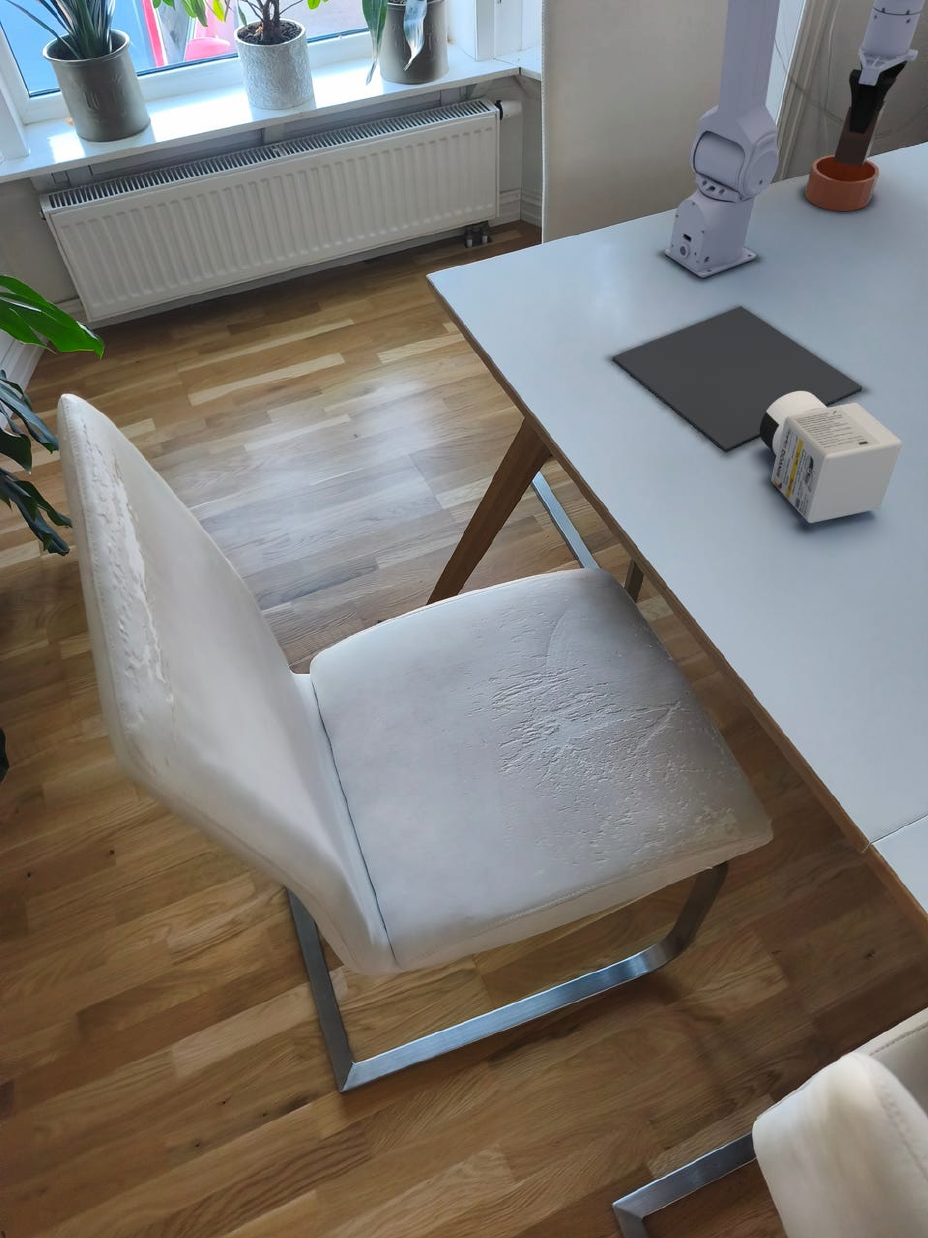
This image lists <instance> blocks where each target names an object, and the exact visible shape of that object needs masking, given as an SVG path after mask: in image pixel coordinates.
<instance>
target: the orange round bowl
mask: <svg viewBox="0 0 928 1238" xmlns="http://www.w3.org/2000/svg"><path fill="white" fill-rule="evenodd" d="M834 156H835V154H830V155H824V156H822V157H819V158H816V160H815V161H814V162H812V164H811V168H810V172H809V176H808V179H807V182H806V186H805V191H804V195H805V198H806V200H807V201H808V202H809V203H811V204H813V205H814V206H817V207H819V208H821V209H824V210H828V211H837V212H853V211H857V210H861V209H864V208H865V207H866V206H868V205H869V203H870V201H871V199H872V198H873V194H874V191H875V188H876V185H877V182H878V179H879V176H880V168H879V167H878V166H877V165H876V164H875V162H873V161H870V160H868V159H866V161H865V163H864V164H863V166H862V167H861V166H855V165H850V164H844V163H839V162H834V161H833V160H834Z"/></svg>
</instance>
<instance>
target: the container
mask: <svg viewBox="0 0 928 1238" xmlns="http://www.w3.org/2000/svg"><path fill="white" fill-rule="evenodd" d="M759 437H760V439H761V441H762V442H763V443H764V444H765V446H767V447H768V448H769V450H770V451H771V452H773V454H774V455H775V461H774V465H773V470H772V473H771V479H770V480H771V481H770V482H771V483H772V484H773V485H774V486H775V487H776V489H778V490H779V492H780V493H781V494H782V495H783V496H784V498H786V499H787V500H788V502H789V503H790V504H791V505H792V506H793V507H794V508H795V509H796V510H797V512H799V514H800V515H801V516H802V517H803V519H805V521H806V522H807V523H809V524H813V523H818V522H823V521H828V520H833V519H837V518H841V517H847V516H851V515H856V514H861V513H864V512H865V513H866V512H869V511H875V510H879V509H880V508H881V506H882V504H883V501H884V499H885V495H886V492H887V489H888V486H889V483H890V480H891V477H892V475H893V471H894V469H895V466H896V464H897V463H896V462H897V460H898V457H899V453H900V451H901V448H902V445H903V442H902V440H901V439H900V438H899V437H897V436H896V435H895V434H894V433H893V432H891V431H890V430H889V429H888V428H887V427H885V426H884V424H883V423H881V422H880V421H879V420H878V419H876V418H875V417H874V416H873V415H872V414H871V413H869V411H867V410H866V409H865V408H864V407H862V406H861V405H860V404H859V403H858V402H850V403H846V404H841V405H835V406H831V407H827V406H825V405H824V404H823V403H822V402H821V401H820V400H819V399H817V398H816V397H815V396H814V395H813V394H811V393H809V392H806V391H796V392H792V393H789V394H786V395H784V396H782V397H781V398H779V399H778V400H776V401H775V402H774V403H773V404H772V405H771V406H770V407H769V408H768V409H767V411H766V412H765V414H764V416H763V418H762V421H761V424H760V436H759Z"/></svg>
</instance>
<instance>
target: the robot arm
mask: <svg viewBox="0 0 928 1238" xmlns="http://www.w3.org/2000/svg"><path fill="white" fill-rule="evenodd" d="M925 2H926V0H874V3H873V6H872V9H871V12H870V15H869V16H870V17H869V20H868V24H867V27H866V30H865V33H864V37H863V41H862V43H861V44H860V46H859V49H858V58H859V60H860V61H859V62H860V69H856V68H854V69H852V70H851V72H850V73H849V77H848V83H849V87H850V98H851V99H850V100H851V101H850V105H851V112H850V121H849V131H850V132H855V133H861V134H864V133H865V132H866V130H867V129H868V127H869V125H870V123H871V121H872V119H873V117H874V115H875V112H876V110H877V108H878V106H879V104H880V102H881V101H885V98H886V97H887V94H888V92H889V91H890V89H891V88H892V87H893V86H894V84H895V83H896V81H897V79H898V78H897V77H898V76H899V74H901V72H902V71H903V70H904V69H905V67H906V66H907V64H908V62H913V61H915V60H916V58H917V57H918V54H919V51H918V50H917V49H911V48H910V47H911V44H912V41H913V38H914V35H915V32H916V29H917V27H918V22H919V20H920V17H921V14H922V11H923V7H924V4H925ZM780 6H781V0H728V1H727V11H726V20H725V21H726V22H725V31H724V42H723V50H722V51H723V52H722V60H721V61H722V62H721V72H720V81H719V82H720V83H719V93H718V101H717V102H718V103H717V104H716V105H715V106H713V107H712V108H710V109H708V110H707V111H706V112H705V113H704V114H703V115H702V116H701V117H700V118H699V119H698V121H697V122H698V123H697V131H696V135H695V139H694V140H693V144H692V146H691V149H690V155H689V164H690V168H691V170H692V172H694V173H695V174H696V175H695V180H694V183H695V184H697V185H698V187H697V188H696V189H695V191H694V192H693V193H692V194H691V195H690V196H689V197H687V198H685V199H683V200H682V201H681V202H680V203H679V204H678V206H677V208H676V211H675V214H674V221H673V227H672V234H671V241H670V245H669V248H666V249H665V250H664V254H665V255H666V256H668V257H669V258H671V259H672V260H674V261H675V262H677V263H678V264H679V265H681V266H683V267H684V268H686V269H687V270H689V271H691V272H692V273H694V274H695V275H697V276H698V277H699V278H707V277H710V276H712V275H715V274H717V273H721V272H722V271H726V270H728V269H731V268H733V267H736V266H739V265H742V264H745V263H746V262H750V261H752V260H755V259H756V257H757V254H756V253H754V252H753V251H751V250H750V249H748V248H747V247H744V246H745V243H746V238H747V233H748V230H749V226H750V220H751V218H752V217H751V216H752V212H753V208H754V204H755V200H756V197H757V196H759V195H760V194H762V192H764V191H765V190H766V189H767V188H768V186H769V185H770V184H771V183H772V181H773V179H774V178H775V175H776V173H777V170H778V167H779V162H780V161H779V160H780V151H779V148H778V142H777V141H778V136H779V135H778V134H779V128H778V125H777V124H776V122H775V120H774V118H773V116H772V115H771V113H770V111H769V109H768V107H767V96H768V90H769V84H770V76H771V69H772V64H773V63H772V62H773V57H774V56H773V55H774V48H775V42H776V34H777V26H778V20H779V12H780Z"/></svg>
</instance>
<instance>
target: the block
mask: <svg viewBox="0 0 928 1238" xmlns="http://www.w3.org/2000/svg"><path fill="white" fill-rule="evenodd" d="M886 104H887V101H886V100H883V101H881V102H880V104H879V106H878V108H877V110H876V112H875V115H874V117H873V119H872V121H871V123H870V125H869V127H868V129H867V130H866V132H865V133H864V134H861V133H855V132H850V131H849V121H850V112H851V104H850V105H849V106H848V109H847V112H846V115H845V119H844V122H843V126H842V129H841V133H840V136H839V139H838V142H837V146H836V149H835V153H834V155H835V156H834V160H833V161H834V162H839V163H844V164H850V165H855V166H861V167H862V166H863V164H864V163H865V161H866V160H868V158H869V156H870V153H871V150H872V148H873V144H874V141H875V138H876V134H877V131H878V128H879V125H880V122H881V119H882V116H883V113H884V110H885V107H886Z"/></svg>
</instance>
